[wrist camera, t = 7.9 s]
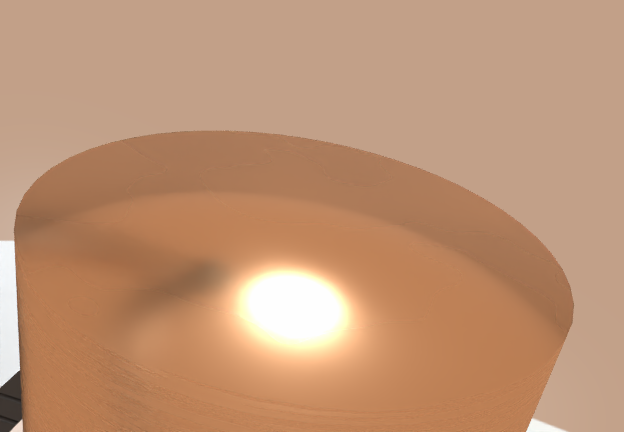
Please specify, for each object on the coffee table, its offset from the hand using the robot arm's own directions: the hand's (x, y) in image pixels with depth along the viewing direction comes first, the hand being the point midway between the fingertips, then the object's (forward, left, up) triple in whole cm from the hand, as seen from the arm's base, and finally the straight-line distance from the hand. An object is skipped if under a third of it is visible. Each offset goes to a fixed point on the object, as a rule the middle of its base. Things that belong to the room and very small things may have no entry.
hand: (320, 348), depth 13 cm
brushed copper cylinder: (+1, -5, -7) cm, 8 cm away
